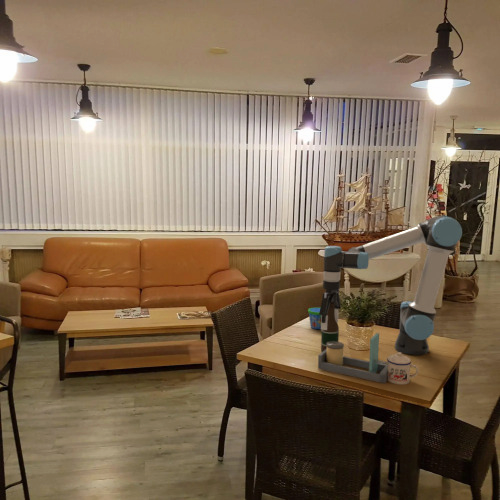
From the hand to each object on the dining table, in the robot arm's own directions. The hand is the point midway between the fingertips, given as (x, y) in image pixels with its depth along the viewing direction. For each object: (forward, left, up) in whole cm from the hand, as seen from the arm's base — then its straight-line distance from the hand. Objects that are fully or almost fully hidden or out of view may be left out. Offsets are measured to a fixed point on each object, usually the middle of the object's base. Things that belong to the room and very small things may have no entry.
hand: (329, 325), depth 212 cm
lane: (-11, +19, -13) cm, 26 cm away
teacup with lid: (-29, +25, -14) cm, 41 cm away
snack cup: (+7, -39, -13) cm, 42 cm away
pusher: (-21, +23, -13) cm, 34 cm away
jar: (-3, +16, -13) cm, 21 cm away
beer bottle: (0, 0, -13) cm, 13 cm away
